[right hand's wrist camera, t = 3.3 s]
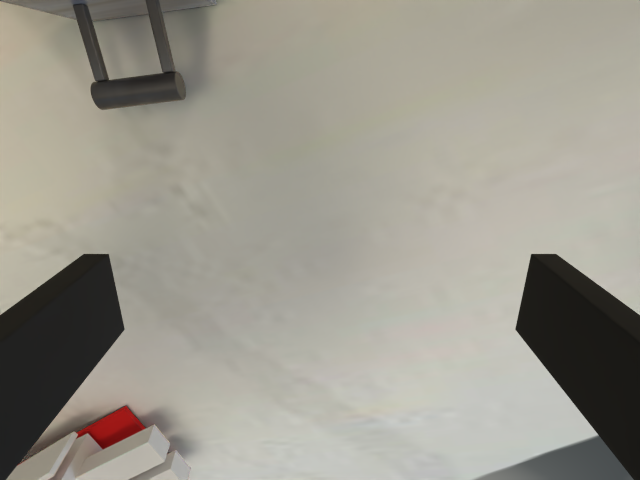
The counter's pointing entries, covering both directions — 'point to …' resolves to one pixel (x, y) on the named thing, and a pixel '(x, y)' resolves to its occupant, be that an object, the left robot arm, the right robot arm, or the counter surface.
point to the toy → (107, 454)
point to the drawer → (93, 5)
